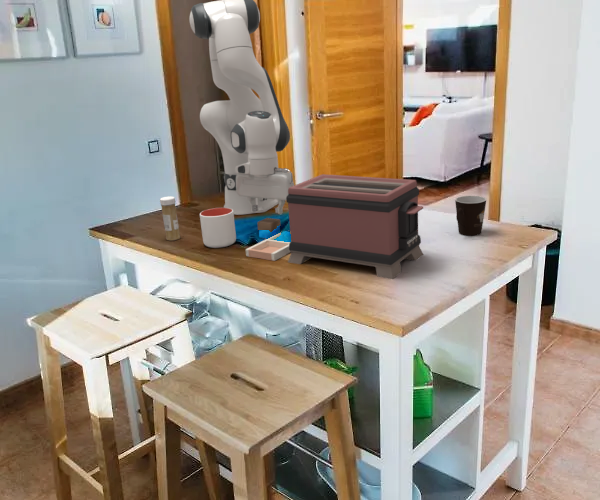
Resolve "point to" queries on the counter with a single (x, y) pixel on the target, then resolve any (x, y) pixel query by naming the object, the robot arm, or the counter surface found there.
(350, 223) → the toaster
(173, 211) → the sprinkles bottle
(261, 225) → the walnut block
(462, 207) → the coffee mug
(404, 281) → the counter surface
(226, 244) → the cup
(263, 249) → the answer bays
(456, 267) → the counter surface
